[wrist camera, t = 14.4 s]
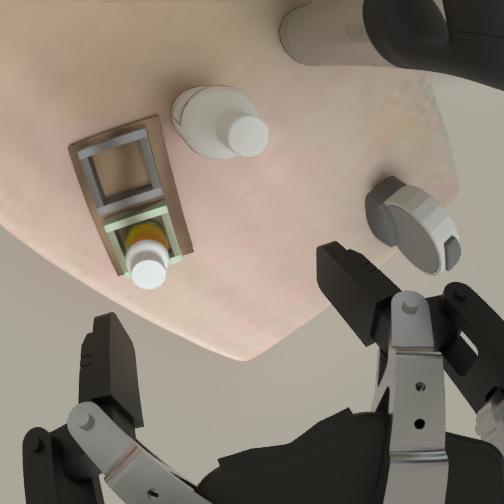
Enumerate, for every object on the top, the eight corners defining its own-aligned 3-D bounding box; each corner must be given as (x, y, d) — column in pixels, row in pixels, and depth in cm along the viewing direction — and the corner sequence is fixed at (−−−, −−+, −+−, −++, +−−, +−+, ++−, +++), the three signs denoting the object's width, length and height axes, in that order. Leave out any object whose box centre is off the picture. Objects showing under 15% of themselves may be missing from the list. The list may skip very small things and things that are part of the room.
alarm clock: (410, 223, 58) (471, 267, 44) (377, 250, 59) (436, 303, 44) (395, 162, 49) (473, 202, 34) (356, 192, 49) (432, 244, 34)
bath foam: (231, 127, 37) (306, 165, 21) (182, 147, 36) (216, 202, 20) (215, 79, 33) (283, 73, 17) (163, 98, 32) (180, 106, 16)
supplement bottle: (124, 219, 37) (120, 257, 29) (163, 214, 39) (170, 251, 31) (129, 253, 40) (129, 297, 32) (166, 249, 41) (174, 291, 34)
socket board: (158, 115, 33) (159, 117, 30) (192, 248, 44) (197, 261, 41) (69, 145, 30) (62, 151, 27) (118, 271, 42) (117, 286, 39)
